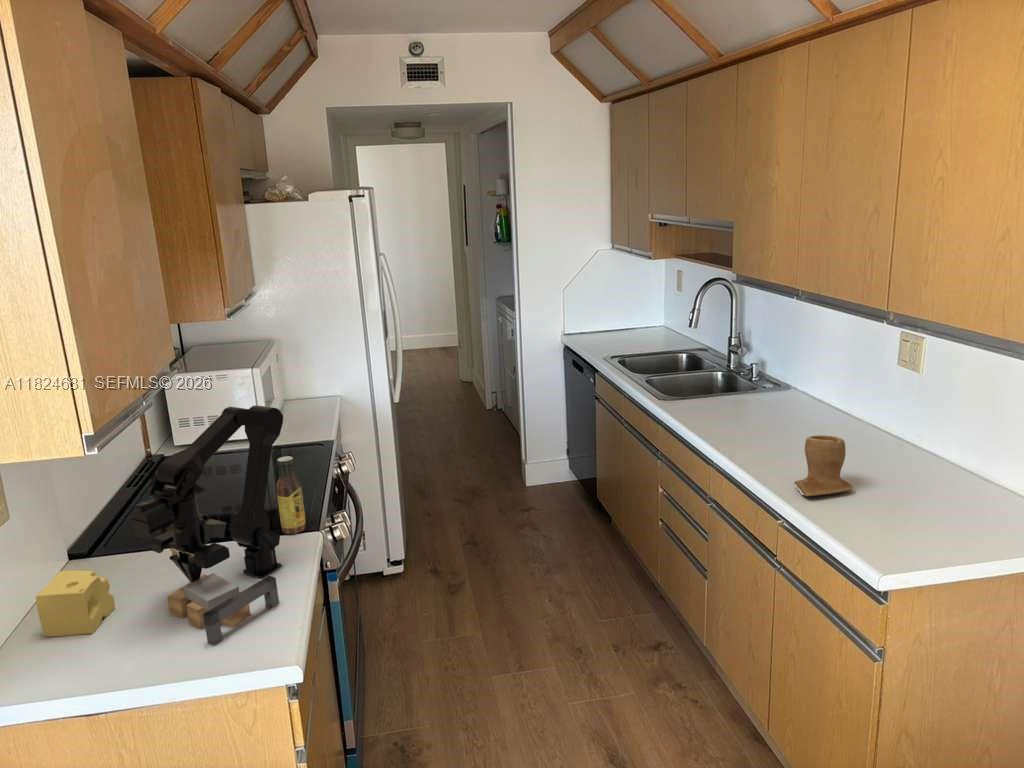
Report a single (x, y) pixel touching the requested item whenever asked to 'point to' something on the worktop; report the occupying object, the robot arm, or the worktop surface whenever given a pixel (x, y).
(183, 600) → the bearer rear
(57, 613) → the cheese
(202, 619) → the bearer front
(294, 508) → the sauce bottle
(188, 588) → the slab
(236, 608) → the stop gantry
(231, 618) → the block
